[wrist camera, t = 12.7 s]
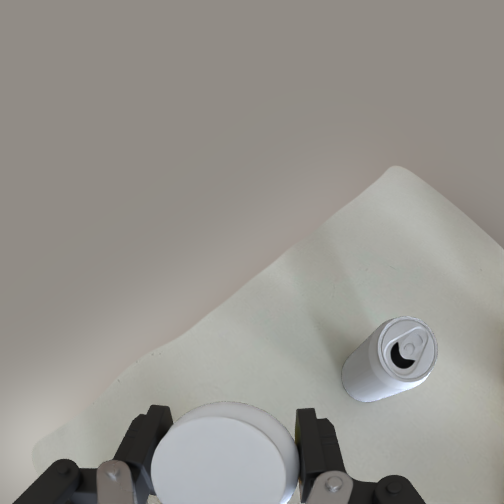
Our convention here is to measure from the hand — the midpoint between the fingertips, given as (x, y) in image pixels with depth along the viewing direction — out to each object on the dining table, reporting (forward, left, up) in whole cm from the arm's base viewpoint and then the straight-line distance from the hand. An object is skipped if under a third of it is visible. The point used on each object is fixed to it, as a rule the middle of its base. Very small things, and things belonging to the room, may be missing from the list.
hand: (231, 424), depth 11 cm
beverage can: (+14, +1, -21) cm, 25 cm away
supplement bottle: (0, -2, -5) cm, 6 cm away
